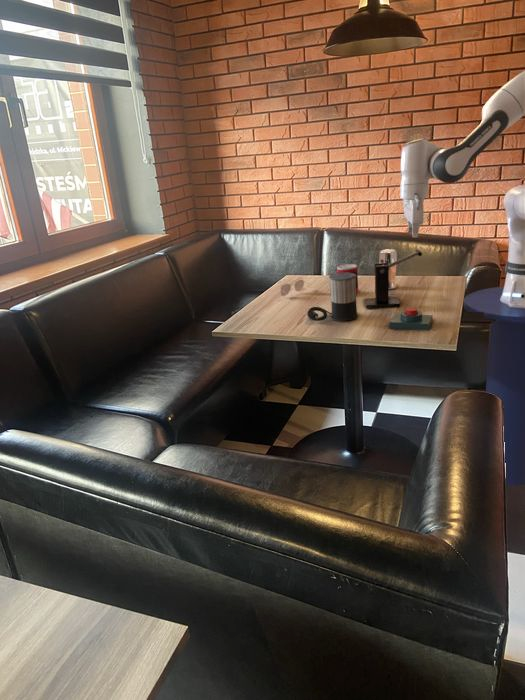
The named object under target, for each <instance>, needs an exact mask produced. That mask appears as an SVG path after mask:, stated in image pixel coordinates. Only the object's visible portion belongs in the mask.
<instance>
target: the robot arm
mask: <svg viewBox="0 0 525 700" xmlns="http://www.w3.org/2000/svg"><path fill="white" fill-rule="evenodd" d="M523 116H525V70H523V71H521V72H520V73H519V74H517V75H516V76H514V77H512V78H511V79H510V80H509V81H507V82H506V83H505V84H504V85H503V86H501V87H500V88H499V89H498V90H496V92H495V93H493V94H492V95H491V97H490V98H489V99H488V100H487V101H486V103H485V104H484V105H483V106H482V108H481V122H480V123H479V124H478V125H477V127H476V128H475V129H473V130H472V132H471V133H469V135H467V136H466V137H465V138H464V139H463V140H462V141H461V142H460V143H458V144H457V145H455V146H453V147H449V148H447V147H443V146H440V145H437V144H435V143H433V142H431V141H430V140H428V139H427V138H418V139H414V140H410V141H407V142H406V143H405V144H404V145H403V146H402V149H401V155H400V174H401V178H400V183H399V189H400V190H399V198H400V200H402V204H403V215H404V218H405V219H406V220H407V226H408V229H407V232H408V233H409V234H411V237H412V238H415V239H416V238H418V237H419V232H420V226H421V225H423V224H424V216H425V215H424V202H425V199H426V198H428V197H429V180H430V179H435V180H438V181H440V182H442V183H446V184H454V183H457V182H459V181H460V180H462V178H464V177H465V175H466V174H467V173H468V171H469V170H470V167H471V165H472V164H473V162H474V160H476V158H477V157H478V156H479V155H481V153H483V151H485V149H486V148H488V147H489V146H490V145H491V144H492V143H493V142H494V141H495V140H496V139H497V138H498V137H499V136H500V135H501V134H503V132H505V131H506V130H508V129H509V128H510V127H511V126H513V125H514V124H515V123H517V122H518V121H519V120H520V119H521V118H523ZM502 204H503V207H504V210H505V214H506V222H507V230H508V252H507V260H506V262H505V263H506V264H505V271H504V273H505V281H504V285H503V287H504V289H503V293H502V295H501V298H500V301H501V302H503V303H505V304H507V305H508V306H509V307H513V308H525V184H520V185H517V186H513V187H512V188H510V189H509V190H508V191H507V192H506V193H505V195H504V196H503V203H502Z"/></svg>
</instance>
